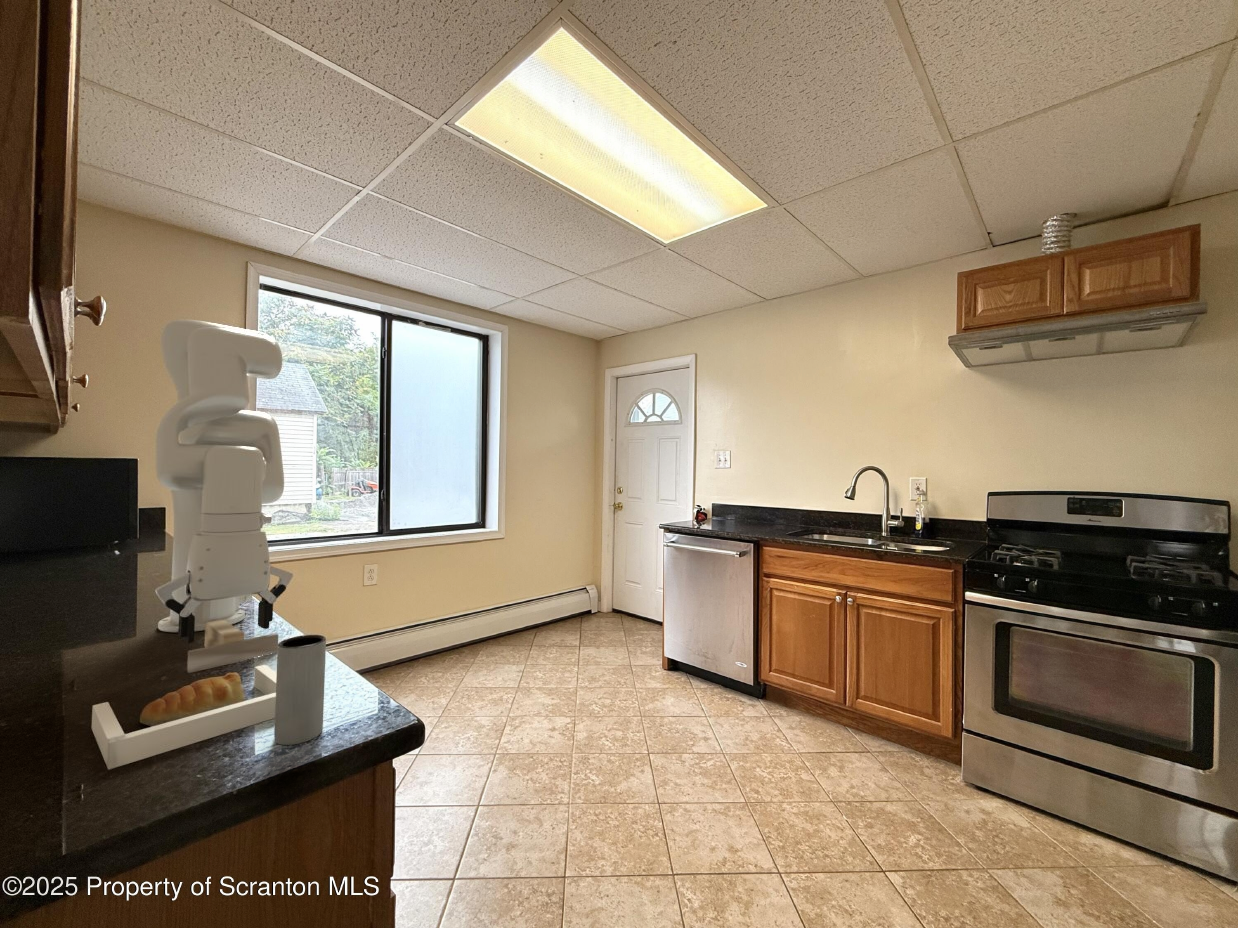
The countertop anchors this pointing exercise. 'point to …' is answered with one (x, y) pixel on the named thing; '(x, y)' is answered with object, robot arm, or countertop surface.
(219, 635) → the dough scraper
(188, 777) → the countertop surface
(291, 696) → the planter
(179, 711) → the pastry
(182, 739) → the frame
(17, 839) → the countertop surface
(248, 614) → the countertop surface
